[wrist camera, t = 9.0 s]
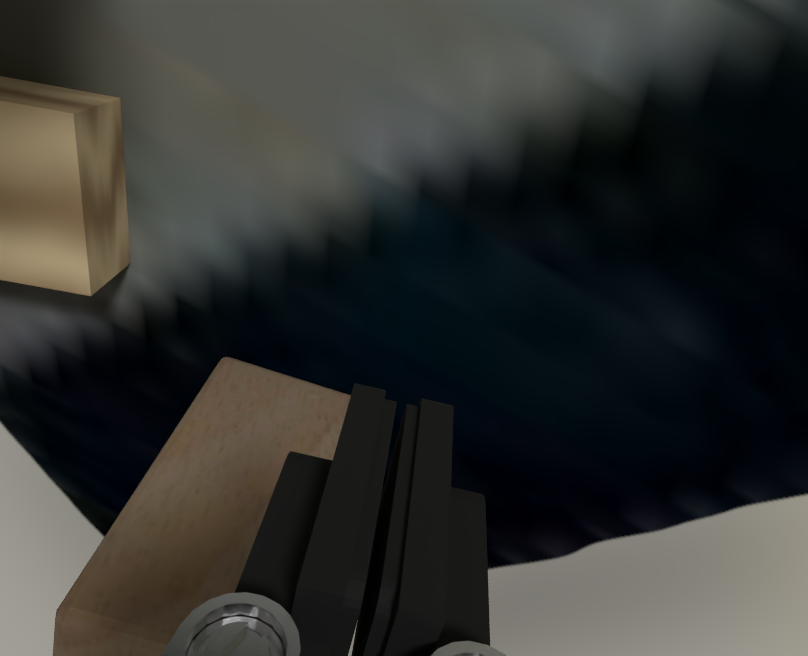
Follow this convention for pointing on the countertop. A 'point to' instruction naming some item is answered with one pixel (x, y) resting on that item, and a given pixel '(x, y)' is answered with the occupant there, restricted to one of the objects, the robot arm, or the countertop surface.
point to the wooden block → (196, 510)
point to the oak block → (61, 187)
